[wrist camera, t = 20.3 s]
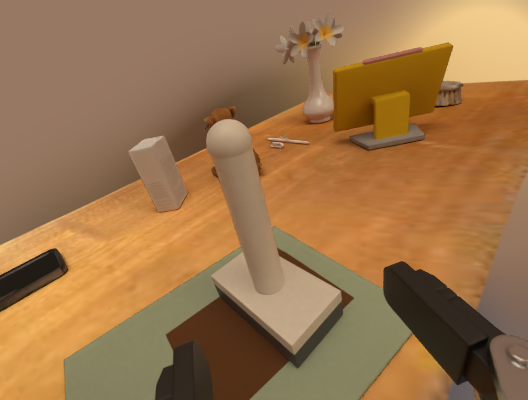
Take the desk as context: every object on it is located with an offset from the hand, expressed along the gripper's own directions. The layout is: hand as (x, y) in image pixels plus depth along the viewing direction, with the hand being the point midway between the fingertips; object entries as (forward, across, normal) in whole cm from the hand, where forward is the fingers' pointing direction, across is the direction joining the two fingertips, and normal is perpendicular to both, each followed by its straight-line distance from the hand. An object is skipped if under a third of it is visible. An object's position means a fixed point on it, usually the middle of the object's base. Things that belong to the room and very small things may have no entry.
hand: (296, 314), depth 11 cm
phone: (+28, +34, +12) cm, 46 cm away
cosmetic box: (+41, +11, +12) cm, 44 cm away
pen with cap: (+55, -16, +12) cm, 58 cm away
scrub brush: (+10, 0, +12) cm, 16 cm away
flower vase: (+66, -31, +12) cm, 74 cm away
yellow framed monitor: (+39, -34, +12) cm, 53 cm away
